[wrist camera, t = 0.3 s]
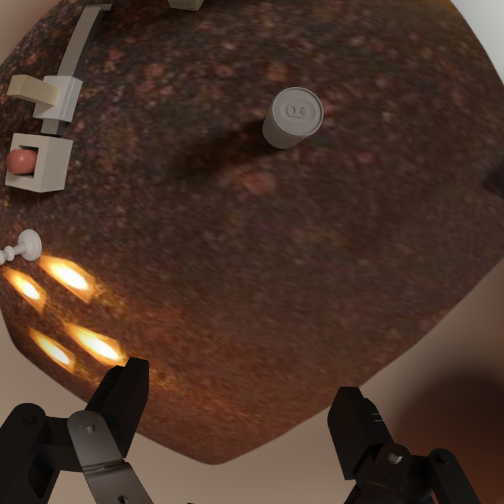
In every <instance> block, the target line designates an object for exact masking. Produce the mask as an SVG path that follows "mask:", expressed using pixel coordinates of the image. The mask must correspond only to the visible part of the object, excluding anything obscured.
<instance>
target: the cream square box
mask: <svg viewBox="0 0 504 504" xmlns="http://www.w3.org/2000/svg"><path fill="white" fill-rule="evenodd" d="M72 143H73V140H67V139H61V138H55V137H48V136H39V135H29V134H19V133H14V135H13V140H12V145H11V150H10V152H11V151H12V150H14V149H19V150H36V151H38V155H37V161H36V166H35V172H34V173H18V174H12V173H10V172H9V171H8V169H7V174H6V182H5V185H9V186H13V187H18V188H22V189H27V190H31V191H35V192H48V191H56V190H64V184H65V178H66V173H67V167H68V162H69V157H70V153H71V148H72Z"/></svg>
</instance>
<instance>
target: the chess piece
mask: <svg viewBox="0 0 504 504" xmlns="http://www.w3.org/2000/svg"><path fill="white" fill-rule="evenodd" d="M41 250H42V245H41V240H40V238H39V236H38V234H37V233H36V232H35V231H34V230H31V229H27V230H25V231H23V232H22V233H21V234H20V236H19V238H18V245H17V246H15V247H14V248H12V247H10V246H7V247H6V248H5V249H4V251H1V250H0V265H2V264H3V263H4V262H5V261H6V260H8V261H12V260H13V259H14V255H17V254H21V255H22V257H23V258H24V259H26V260H28V261H33V260H36V259H38V258H39V256H40V254H41Z"/></svg>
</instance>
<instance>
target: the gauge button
mask: <svg viewBox="0 0 504 504" xmlns="http://www.w3.org/2000/svg"><path fill="white" fill-rule="evenodd" d="M37 155H38V151H36V150H19V149H14V150H12V151H11V152H10V153H9V155H8V157H7V161H6V165H7V169H8V171H9V172H10V173H12V174H18V173H34V172H35V166H36V161H37Z"/></svg>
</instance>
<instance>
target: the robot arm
mask: <svg viewBox="0 0 504 504" xmlns="http://www.w3.org/2000/svg"><path fill="white" fill-rule="evenodd" d="M148 393H149V361H148V360H143V359H139V358H135V357H130V358H129V360H128V362H127V364H126V365H125V367H122V366H118V365H116V366H115V367H113V368H112V369H110V370H109V371H108V372H107V373H106V375H105V376H104V378H103V380H102V381H101V383H100V385H99V387H98V388H97V389H96V391H95V393H94V394H93V396H92V398H91V399H90V401H89V403H88V404H87V406H86V408H85V409H84V410H81V411H77V412H75V413H73V414H72V415H71V416H70V417H69V418H57V417H49V416H46V414H45V412H44V410H43V409H42V408H41V407H40V406H38V405H36V404H33V403H23V404H20V405H18V406H16V407H15V408H14V409H13V410H12V412H11V413H10V415H9V416H8V417H7V419H6V420H5V422H4V423H3V425H2V426H1V428H0V504H47V503H48V501H49V498H50V495H51V493H52V490H53V488H54V485H55V483H56V480H57V478H58V475H59V473H60V470H63V471H72V472H82V473H83V474H84V476H85V479H86V481H87V484H88V486H89V488H90V491H91V493H92V495H93V497H94V499H95V502H96V504H154V503H153V502H152V500H151V498H150V497H149V496H148V494H147V492H146V491H145V489H144V487H143V485H142V484H141V482H140V480H139V479H138V477H137V476H136V474H135V472H134V470H133V469H132V467H131V465H130V464H129V463H128V462H125V461H124V459H123V458H126V456H127V453H128V451H129V448H130V445H131V442H132V440H133V437H134V434H135V431H136V429H137V426H138V423H139V421H140V418H141V415H142V413H143V410H144V407H145V405H146V402H147V398H148ZM327 423H328V427H329V430H330V433H331V436H332V440H333V443H334V446H335V449H336V452H337V456H338V459H339V462H340V465H341V469H342V472H343V475H344V478H345V480H353V479H355V480H356V484H355V486H354V487H353V489H352V491H351V492H350V494H349V496H348V498H347V499H346V501H345V503H344V504H435V503H434V501H433V499H432V496H431V494H432V493H433V492H434V493H435V495H436V498H437V500H438V502H439V504H481V503H480V501H479V499H478V497H477V496H476V494H475V492H474V490H473V488H472V486H471V484H470V482H469V480H468V479H467V477H466V475H465V473H464V471H463V470H462V468H461V466H460V464H459V463H458V461H457V459H456V457H455V456H454V455H453V454H452V453H451V452H450V451H448V450H446V449H442V448H437V449H434V450H432V451H431V453H430V454H429V455H428V457H426V456H416V455H412V454H411V452H410V451H409V449H408V448H406V447H405V446H404V445H401V444H399V443H394V441H393V439H392V437H391V435H390V433H389V431H388V429H387V427H386V425H385V423H384V421H382V418H381V416H380V415H379V412H378V410H377V408H376V406H375V405H374V404H373V403H372V402H371V401H370V400H369V399H368V398H364V397H363V395H362V393H361V391H360V389H359V388H358V387H340V388H339V390H338V392H337V394H336V397H335V399H334V401H333V404H332V406H331V408H330V410H329V413H328V418H327ZM187 504H192V503H187Z"/></svg>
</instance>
